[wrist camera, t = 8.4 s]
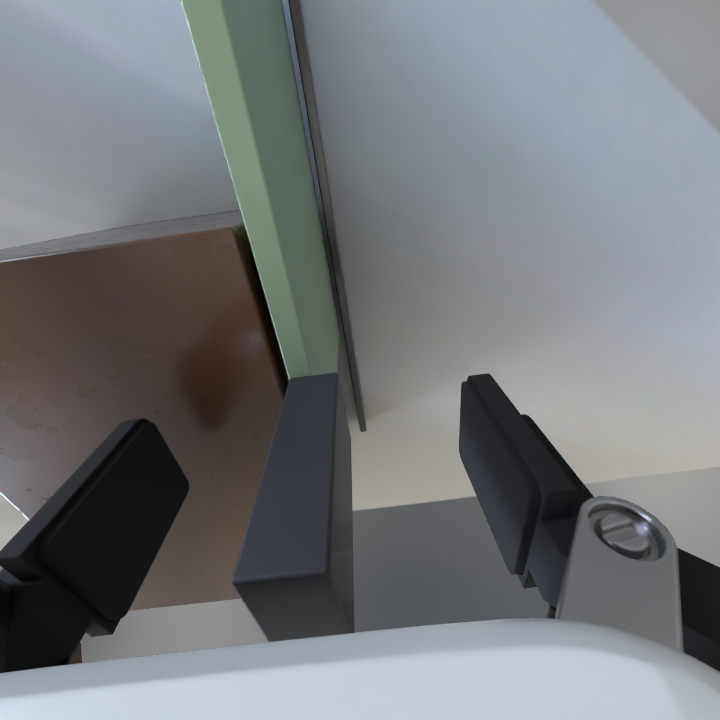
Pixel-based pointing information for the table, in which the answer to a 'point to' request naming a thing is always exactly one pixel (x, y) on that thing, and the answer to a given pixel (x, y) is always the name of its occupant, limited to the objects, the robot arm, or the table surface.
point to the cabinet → (154, 368)
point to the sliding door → (284, 326)
